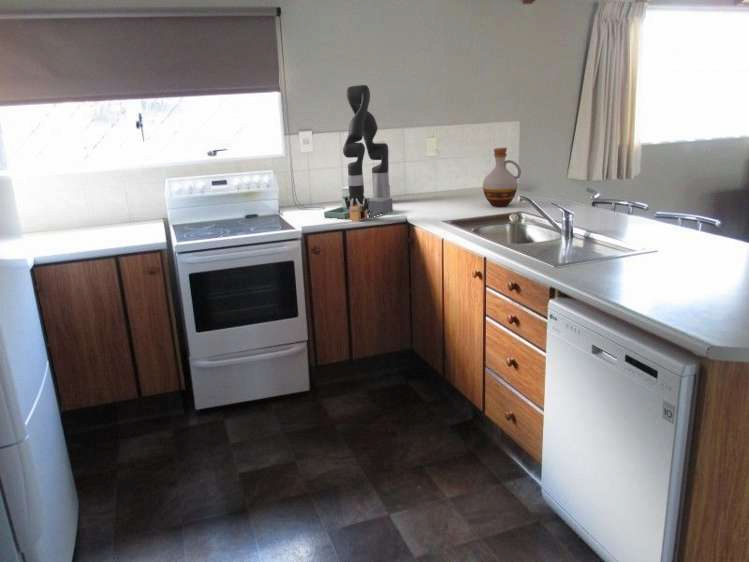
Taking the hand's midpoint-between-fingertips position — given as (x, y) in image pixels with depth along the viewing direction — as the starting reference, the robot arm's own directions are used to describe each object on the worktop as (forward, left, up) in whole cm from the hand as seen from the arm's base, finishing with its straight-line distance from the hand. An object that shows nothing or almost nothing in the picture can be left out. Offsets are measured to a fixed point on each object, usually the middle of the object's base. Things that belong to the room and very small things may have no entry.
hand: (357, 217), depth 317 cm
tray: (-6, -14, -1) cm, 15 cm away
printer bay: (-15, 0, -1) cm, 15 cm away
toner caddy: (-1, 0, -1) cm, 1 cm away
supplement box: (-21, -19, -1) cm, 28 cm away
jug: (-58, +52, -1) cm, 78 cm away
